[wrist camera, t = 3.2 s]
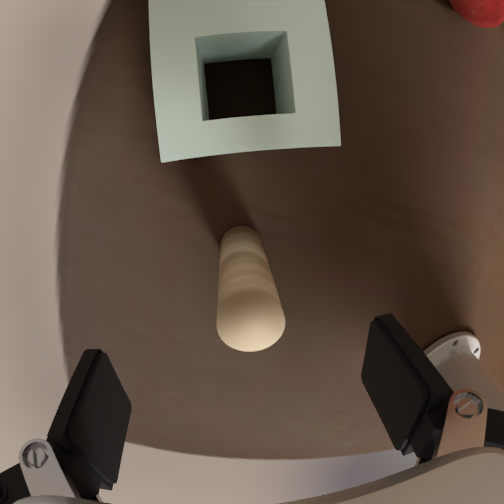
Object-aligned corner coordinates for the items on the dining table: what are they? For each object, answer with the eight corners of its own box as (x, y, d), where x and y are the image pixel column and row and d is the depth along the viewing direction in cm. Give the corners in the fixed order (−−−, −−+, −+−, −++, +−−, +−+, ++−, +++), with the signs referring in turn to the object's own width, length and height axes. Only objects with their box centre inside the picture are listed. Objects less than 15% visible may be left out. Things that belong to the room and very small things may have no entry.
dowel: (263, 262, 23) (286, 347, 14) (223, 266, 23) (221, 354, 14) (260, 223, 22) (283, 291, 13) (218, 228, 22) (211, 299, 13)
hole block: (311, 142, 20) (341, 146, 14) (179, 155, 20) (161, 162, 14) (287, -46, 14) (303, -88, 9) (166, -37, 14) (150, -78, 8)
